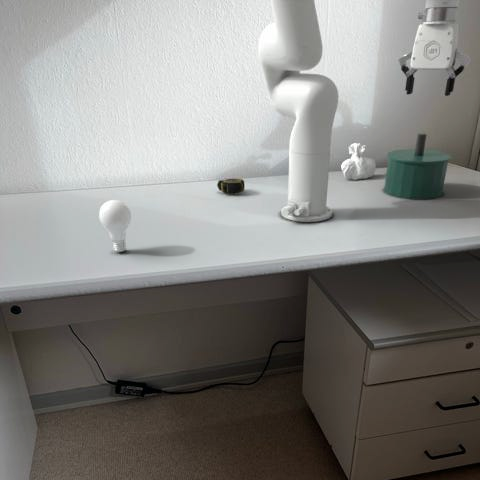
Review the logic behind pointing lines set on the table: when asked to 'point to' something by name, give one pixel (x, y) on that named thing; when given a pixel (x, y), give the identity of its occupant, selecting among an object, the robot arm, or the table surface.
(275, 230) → the table surface
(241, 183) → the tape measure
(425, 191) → the pot
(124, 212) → the lightbulb
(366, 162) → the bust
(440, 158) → the lid
